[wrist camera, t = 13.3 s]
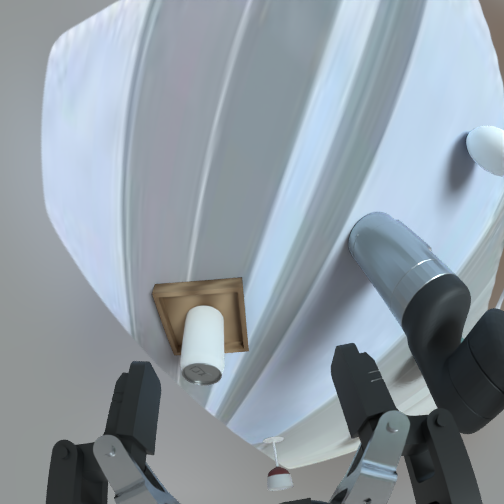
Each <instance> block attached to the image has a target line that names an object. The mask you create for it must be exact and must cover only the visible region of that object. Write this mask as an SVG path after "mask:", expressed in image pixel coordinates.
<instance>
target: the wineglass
mask: <svg viewBox="0 0 504 504" xmlns="http://www.w3.org/2000/svg"><path fill="white" fill-rule="evenodd" d="M282 440H284V438H283V437H270V438H267V439H264V440H263V442H264V443H269V444H270V443H273V448H274V455H275V461H276V468H274V469H272V470H271V471H270V472H269V474H268V480H267V485H268V490H272V491H273V490H283V489H288V488H292V487H293V482H292V478H291V476H290V473H289V472H288V471H287V470H286V469H284V468H281V467H279V466H278V460H277V453H276V447H275V443H277V442H280V441H282Z"/></svg>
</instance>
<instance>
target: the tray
mask: <svg viewBox="0 0 504 504" xmlns="http://www.w3.org/2000/svg"><path fill="white" fill-rule="evenodd" d="M152 295H153V298H154V301H155V304H156V307H157V310H158V313H159V316H160V318H161V321H162V324H163V327H164V330H165V332H166V335H167V338H168V340H169V343H170V346H171V348H172V351H173V353H174V355H181V350H182V342H183V334H184V327H185V320H186V315H187V313H188V312H189V310H191V309H192V308H194V307H197V306H201V305H206V306H211V307H213V308H215V309H217V310H218V311H219V312H220V313H221V314H222V316H223V319H224V353H233V352H245V351H249V348H248V338H247V327H246V316H245V305H244V294H243V283H242V277H239V278H228V279H216V280H204V281H191V282H177V283H163V284H155V286H154V289H153V293H152Z"/></svg>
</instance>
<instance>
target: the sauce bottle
mask: <svg viewBox="0 0 504 504" xmlns="http://www.w3.org/2000/svg"><path fill="white" fill-rule="evenodd" d="M466 145H467V149H468V152H469V154H470V156H471V157H472V159H473V160H474V161H475V162H476V163H477V164H478V165H479V166H480V167H481V168H483V169H484V170H486V171H488V172H490V173H492V174H494V175H498V176H501V177H504V130H502V129H500V128H497V127H493V126H480V127H477V128H474V129H473V130H471V131H470V133H469V134H468V136H467V139H466Z"/></svg>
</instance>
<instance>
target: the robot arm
mask: <svg viewBox="0 0 504 504" xmlns="http://www.w3.org/2000/svg"><path fill="white" fill-rule="evenodd" d="M349 250H350V253H351V255H352V256H353V258H354V259H355V260H356V262H357V263H358V264H359V266H360V267H361V269H362V270H363V271H364V273H365V274H366V276H367V277H368V278H369V280H370V281H371V283H372V284H373V286H374V287H375V288H376V290H377V291H378V293H379V294H380V296H381V297H382V299H383V300H384V302H385V303H386V305H387V306H388V308H389V309H390V311H391V312H392V314H393V315H394V317H395V318H396V320H397V321H398V323H399V324H400V326H401V327H402V329H403V331H404V332H405V334H406V336H407V340H408V345H409V349H410V351H411V353H412V355H413V357H414V359H415V361H416V363H417V365H418V367H419V369H420V371H421V373H422V375H423V377H424V379H425V382H426V384H427V386H428V388H429V391H430V393H431V395H432V397H433V399H434V401H435V404H436V406H437V407H438V408H437V409H435V410H433V411H432V412H431V413H430V414H429V415H419V416H408V415H405V414H404V413H402V412H400V411H399V410H398V409H397V408H396V406H395V405H394V402H393V400H392V398H391V395H390V393H389V391H388V389H387V387H386V384H385V382H384V380H383V379H382V376H381V374H380V371H379V369H378V367H377V365H376V363H375V361H374V359H373V358H371V357H370V356H369V355H368V354H367V353H366V352H364V353H359V351H358V349H357V347H356V345H355V344H354V343H349V344H344V345H339V346H337V347H336V349H335V353H334V357H333V361H332V364H331V376H332V380H333V382H334V385H335V388H336V391H337V395H338V398H339V401H340V404H341V407H342V410H343V413H344V416H345V419H346V422H347V425H348V429H349V432H350V435H351V438H355V437H359V438H360V441H361V443H360V445H359V447H358V450H357V452H356V454H355V456H354V458H353V461H352V462H351V465H350V467H349V469H348V471H347V473H346V475H345V476H344V478H343V480H342V481H341V482H340V484H339V485H338V487H337V488H336V490H335V492H334V494H333V495H332V497H331V499H330V500H329V502H328V503H327V502H322V501H315V500H311V498H307V499H302V500H296V501H289V502H283V503H281V504H365V503H366V504H387V502H388V500H389V497H390V495H391V493H392V490H393V488H394V485H395V483H396V480H397V473H396V468H397V465H398V463H399V460H400V457H401V456H404V458H405V462H406V465H407V469H408V472H409V476H410V480H411V484H412V488H413V492H414V496H415V500H416V504H482V500H481V496H480V492H479V488H478V485H477V481H476V478H475V475H474V472H473V468H472V466H471V462H470V459H469V456H468V454H467V451H466V448H465V446H464V443H463V440H462V438H461V435H460V433H463V434H472V433H475V432H476V431H478V430H480V429H481V428H483V427H484V426H485V425H486V424H488V423H489V422H490V421H491V420H492V419H493V418H495V417H496V416H497V415H498V414H499V413H500V412H501V411H502V410H503V409H504V311H502V310H500V309H495V308H493V309H490V310H488V311H486V312H485V313H484V315H483V316H482V317H481V318H480V319H479V321H478V322H477V323H476V325H475V326H474V327H473V329H472V330H471V331H470V332H469V334H468V335H467V336H466V338H465V339H464V340H463V341H462V343H461V338H462V332H463V328H464V324H465V321H466V318H467V315H468V312H469V308H470V303H471V296H470V292H469V290H468V288H467V286H466V285H465V284H464V283H463V282H462V281H461V280H460V279H459V278H458V277H457V276H456V275H455V274H454V273H453V272H452V271H451V270H450V269H449V268H448V267H447V266H446V265H445V264H444V263H443V262H442V261H441V260H440V259H439V258H438V257H437V256H436V255H434V254H433V253H432V252H431V247H430V246H429V245H428V244H427V243H426V242H424V241H423V240H422V239H421V238H420V237H419V236H417V235H416V234H415V233H414V232H413V231H412V230H410V229H409V228H408V227H407V226H406V225H404V224H403V223H402V222H401V221H399V220H395V219H393V218H392V217H391V216H390V215H388V214H386V213H382V212H375V213H371V214H368V215H366V216H365V217H363V218H362V219H361V220H360V221H359V222H358V223H357V224H356V225H355V226H354V228H353V229H352V232H351V234H350V238H349ZM160 396H161V384H160V381H159V378H158V377H157V375H156V373H155V371H154V369H153V367H152V365H151V363H150V362H142V361H141V362H140V361H133V362H132V363H131V365H130V369H129V373H122V375H121V376H120V377H119V379H118V380H117V382H116V385H115V389H114V394H113V398H112V402H111V406H110V410H109V414H108V419H107V424H106V429H105V432H104V434H103V436H101V437H99V438H98V439H97V440H96V441H95V442H93V443H87V444H79V445H74V444H73V443H72V442H70V441H68V440H60V441H58V442H57V443H56V444H55V446H54V447H53V450H52V456H51V462H50V469H49V477H48V485H47V496H46V504H107V493H108V482H109V483H110V485H111V487H112V488H113V490H114V492H115V497H114V499H115V502H116V504H180V503H179V502H178V501H177V500H176V499H175V498H174V497H173V496H172V495H171V494H170V493H169V492H168V491H167V490H166V489H165V487H164V486H163V485H162V483H161V482H160V481H159V479H158V478H157V477H156V475H155V474H154V473H153V471H152V470H151V468H150V467H149V465H148V464H147V463H146V454H149V455H154V452H155V440H156V430H157V421H158V413H159V405H160Z"/></svg>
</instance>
